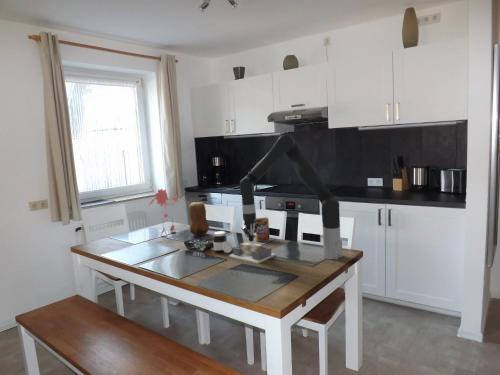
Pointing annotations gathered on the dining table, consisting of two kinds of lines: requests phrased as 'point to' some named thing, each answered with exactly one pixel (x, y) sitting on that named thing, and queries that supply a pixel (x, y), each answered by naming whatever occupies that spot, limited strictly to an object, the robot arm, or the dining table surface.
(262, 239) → the candy box
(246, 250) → the slat
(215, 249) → the spread jar
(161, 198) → the red flower in vase
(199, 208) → the butternut squash
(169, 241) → the dining table surface
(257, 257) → the cradle
